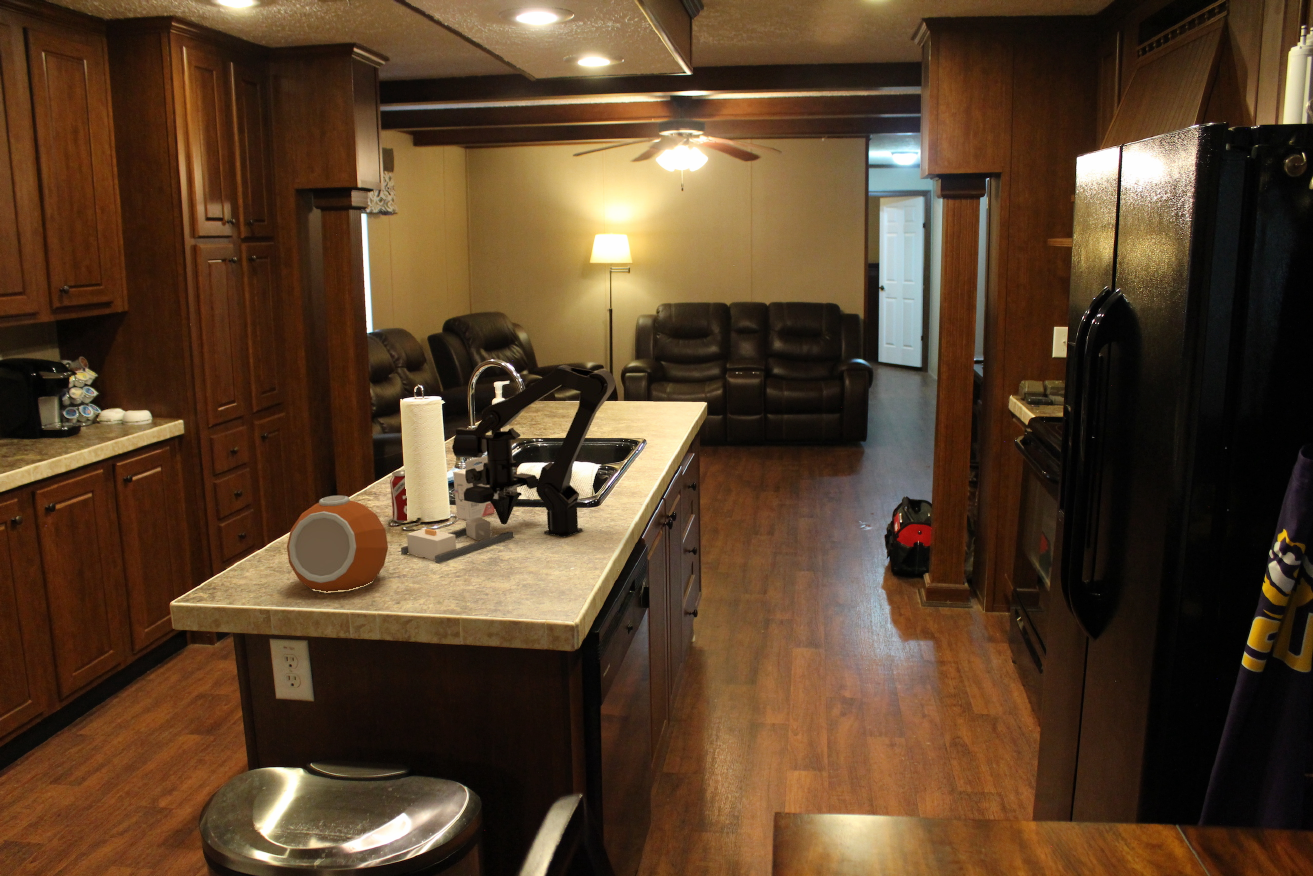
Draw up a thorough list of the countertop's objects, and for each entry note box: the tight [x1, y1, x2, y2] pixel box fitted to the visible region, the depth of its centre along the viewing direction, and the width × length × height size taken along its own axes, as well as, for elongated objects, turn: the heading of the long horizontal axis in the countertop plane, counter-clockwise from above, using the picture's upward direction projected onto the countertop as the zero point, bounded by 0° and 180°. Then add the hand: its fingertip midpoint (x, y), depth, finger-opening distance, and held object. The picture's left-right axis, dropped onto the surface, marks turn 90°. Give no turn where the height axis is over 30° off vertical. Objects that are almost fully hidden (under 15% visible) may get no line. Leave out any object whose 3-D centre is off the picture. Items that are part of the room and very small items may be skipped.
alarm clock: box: [286, 495, 389, 592], centre depth 203 cm, size 19×18×17 cm
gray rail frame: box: [400, 526, 514, 564], centre depth 227 cm, size 12×22×2 cm, turn 143°
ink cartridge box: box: [452, 455, 496, 521], centre depth 251 cm, size 9×5×15 cm, turn 143°
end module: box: [406, 528, 457, 561], centre depth 221 cm, size 10×5×6 cm, turn 53°
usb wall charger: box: [465, 517, 494, 541], centre depth 232 cm, size 4×7×4 cm, turn 37°
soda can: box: [389, 469, 407, 523], centre depth 248 cm, size 7×7×12 cm
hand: (504, 524), depth 238 cm, fingers closed
